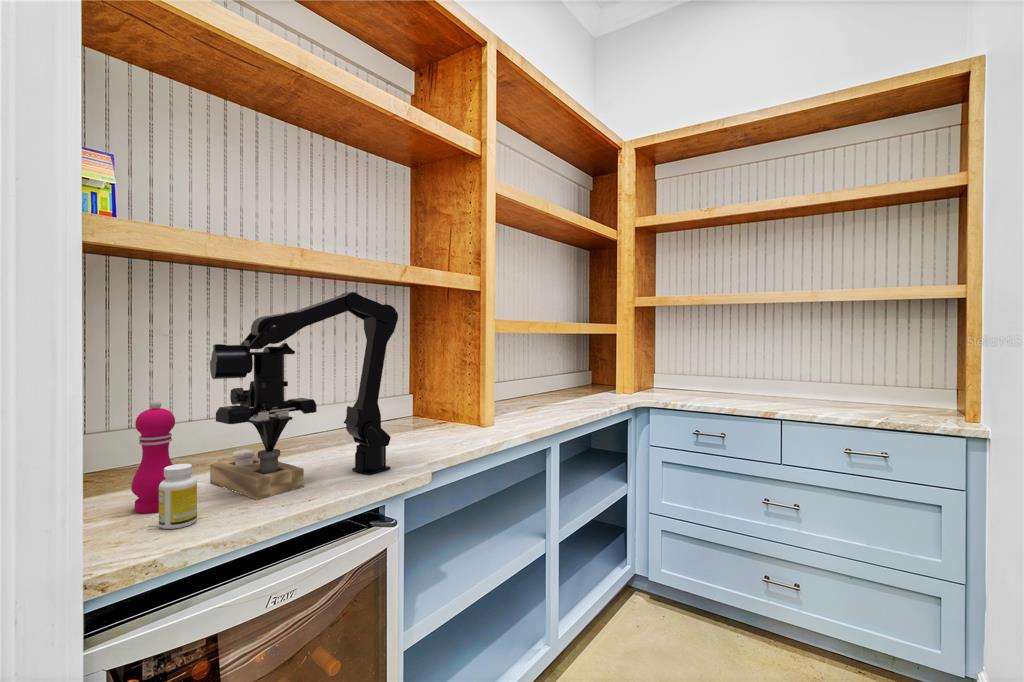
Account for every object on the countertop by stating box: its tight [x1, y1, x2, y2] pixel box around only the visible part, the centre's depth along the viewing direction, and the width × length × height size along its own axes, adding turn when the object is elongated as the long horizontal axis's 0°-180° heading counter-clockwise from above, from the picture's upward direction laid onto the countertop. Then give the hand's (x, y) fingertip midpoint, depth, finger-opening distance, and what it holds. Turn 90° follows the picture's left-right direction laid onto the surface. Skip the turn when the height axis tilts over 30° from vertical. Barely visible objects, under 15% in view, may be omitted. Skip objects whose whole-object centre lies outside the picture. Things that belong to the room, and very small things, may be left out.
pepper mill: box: [130, 399, 176, 514], centre depth 92 cm, size 7×7×20 cm
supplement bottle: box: [158, 463, 198, 530], centre depth 85 cm, size 5×5×10 cm
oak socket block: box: [209, 454, 305, 501], centre depth 106 cm, size 10×19×4 cm, turn 55°
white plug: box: [232, 448, 256, 467], centre depth 109 cm, size 4×4×6 cm
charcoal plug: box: [257, 448, 281, 474], centre depth 103 cm, size 4×4×6 cm
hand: (269, 451), depth 103 cm, fingers closed, pressing on charcoal plug
